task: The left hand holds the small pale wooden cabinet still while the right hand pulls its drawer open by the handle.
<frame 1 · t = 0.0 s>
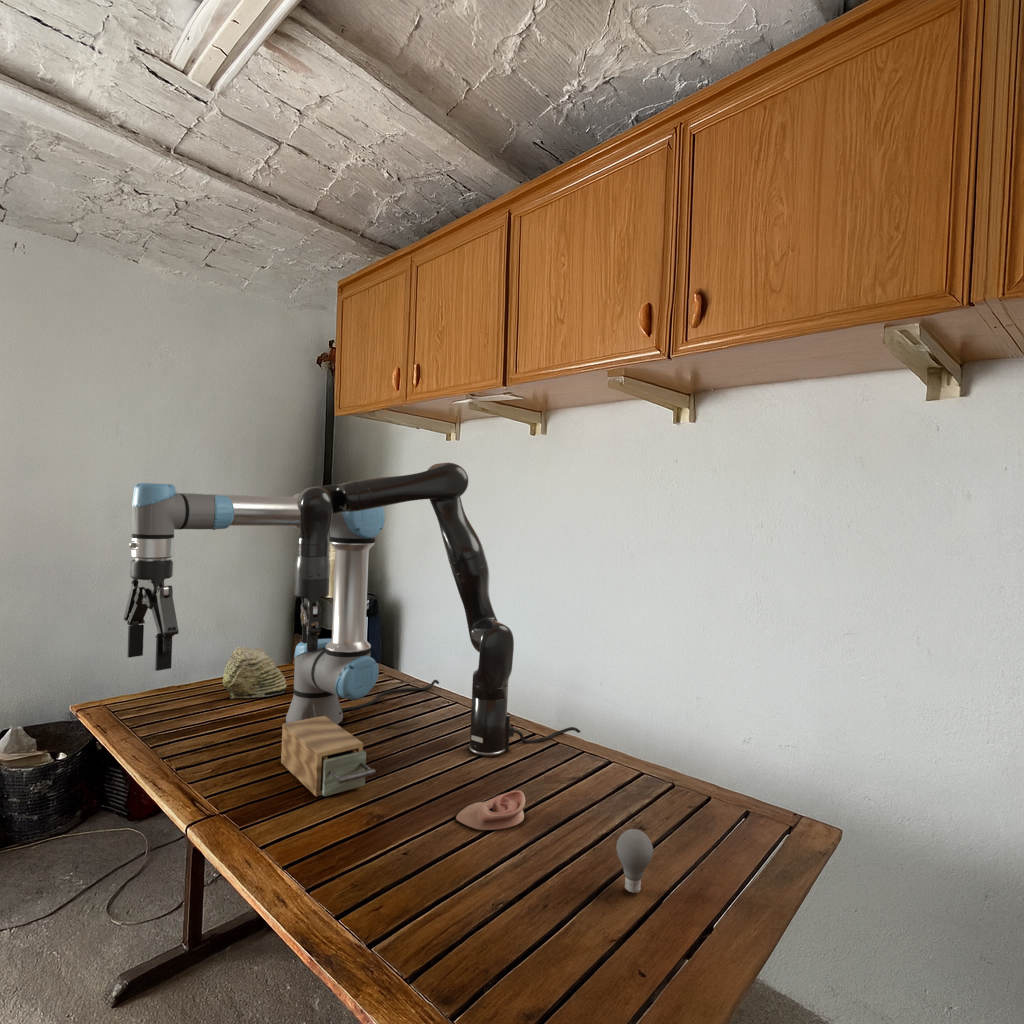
left hand: (148, 662, 129), 28 cm above the table, tool pointing down, fingers open, 13 cm apart
right hand: (309, 647, 143), 29 cm above the table, tool pointing down, fingers open, 8 cm apart
cabinet: (319, 773, 145), on the table
drawer: (332, 762, 140), point 5 cm above the table, slide at 1.7 cm
fossil: (254, 694, 198), on the table
light bulb: (632, 891, 106), on the table
anatomical model: (490, 817, 128), on the table
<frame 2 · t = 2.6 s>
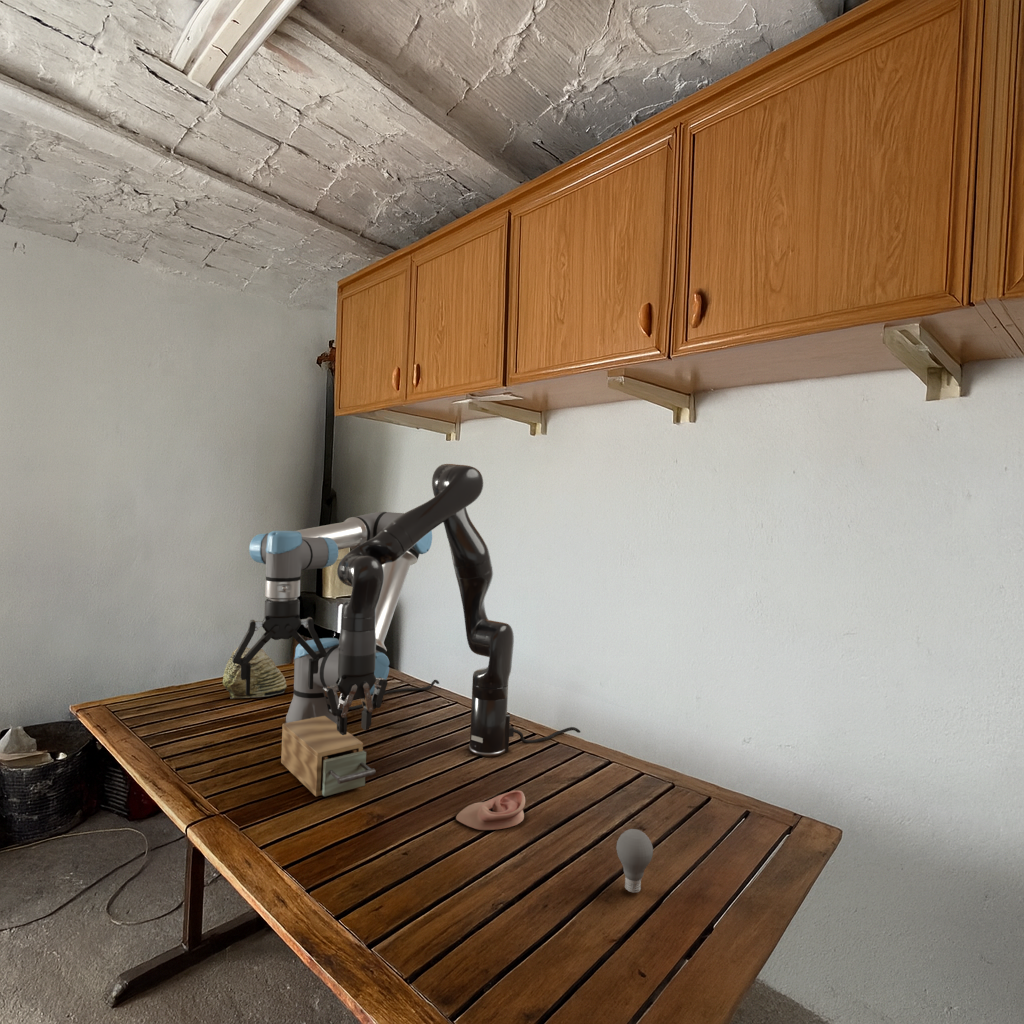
left hand: (279, 690, 145), 18 cm above the table, tool pointing down, fingers open, 13 cm apart
right hand: (354, 730, 132), 15 cm above the table, tool pointing down, fingers open, 4 cm apart
nothing on the table moved.
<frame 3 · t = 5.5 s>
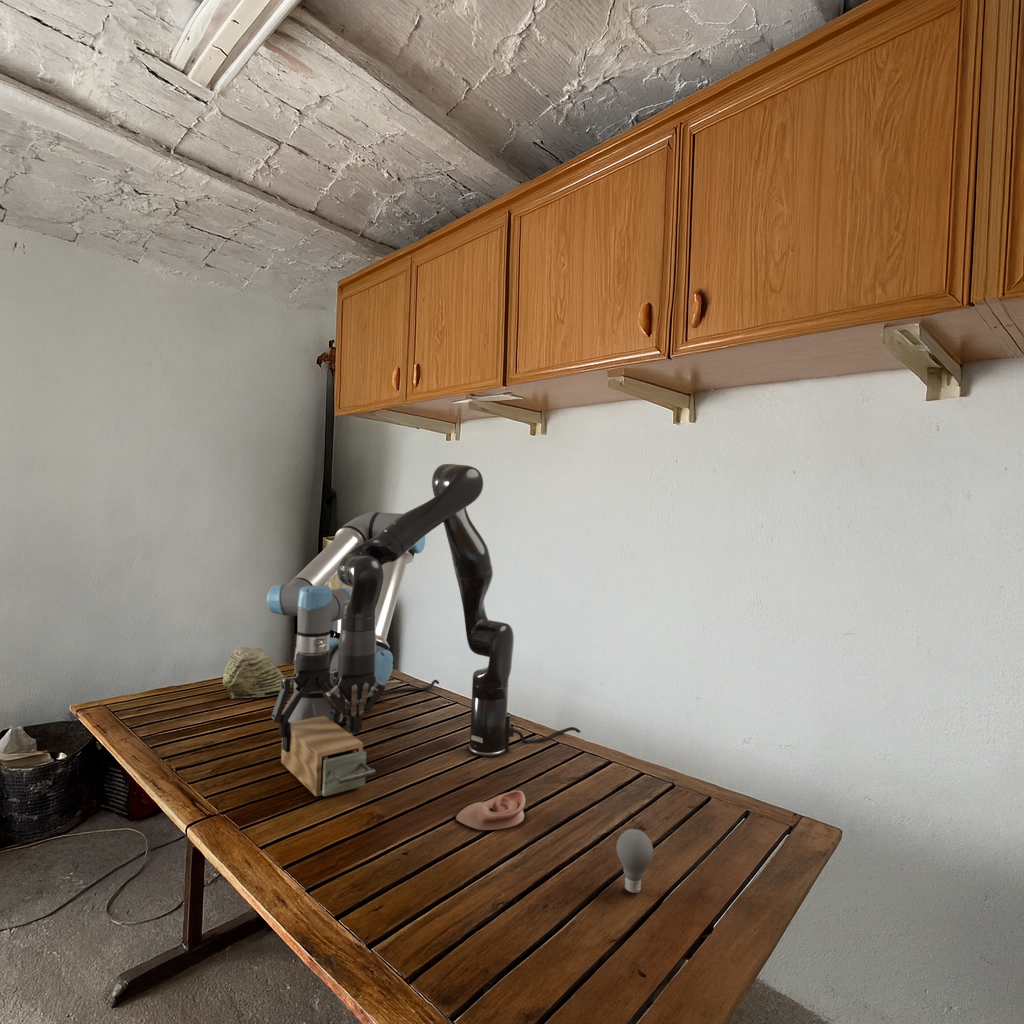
left hand: (309, 744, 150), 4 cm above the table, tool pointing down, fingers closed on cabinet, 10 cm apart
right hand: (354, 732, 132), 15 cm above the table, tool pointing down, fingers closed
cabinet: (319, 773, 145), on the table, touching left hand
everything else where it was.
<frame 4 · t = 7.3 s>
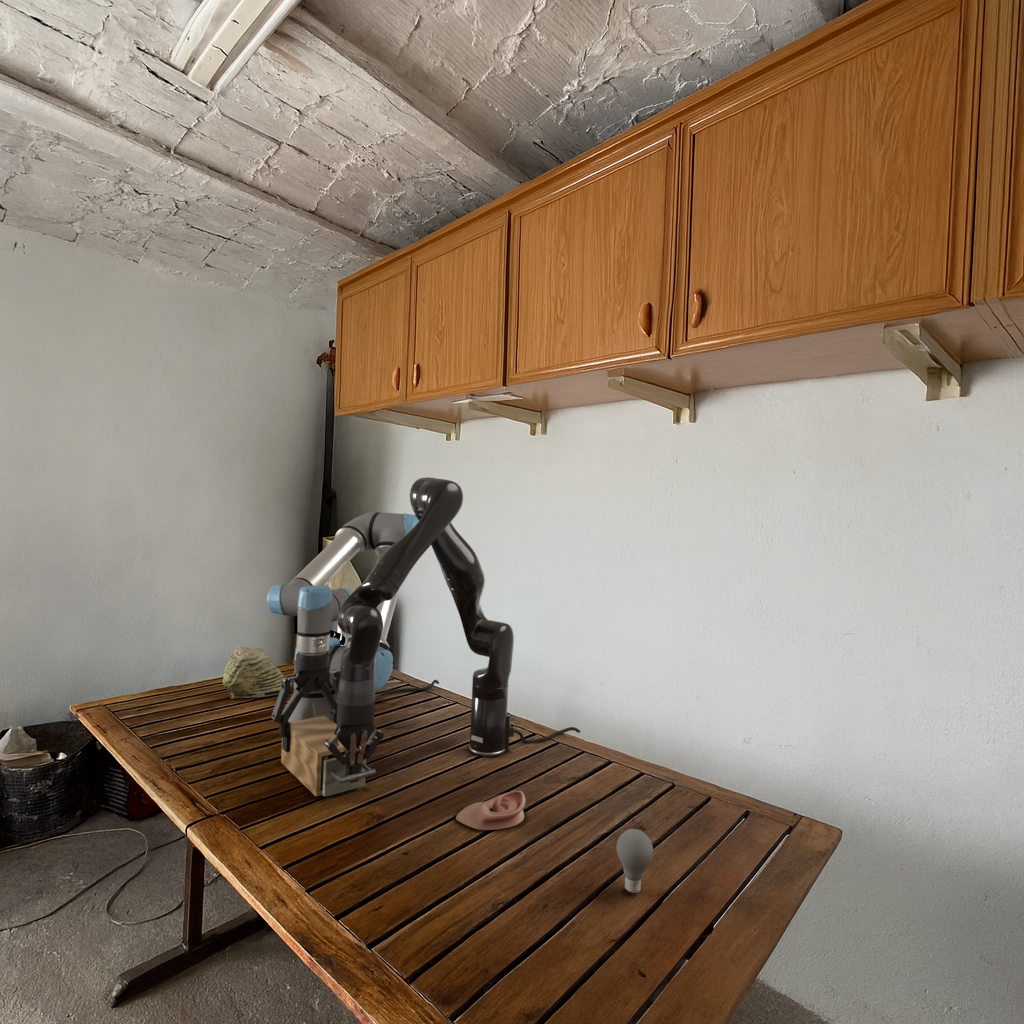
left hand: (309, 744, 150), 4 cm above the table, tool pointing down, fingers closed on cabinet, 10 cm apart
right hand: (352, 780, 132), 5 cm above the table, tool pointing down, fingers closed
cabinet: (319, 773, 145), on the table, touching left hand
drawer: (332, 763, 140), point 5 cm above the table, slide at 1.8 cm, touching right hand
everything else where it was.
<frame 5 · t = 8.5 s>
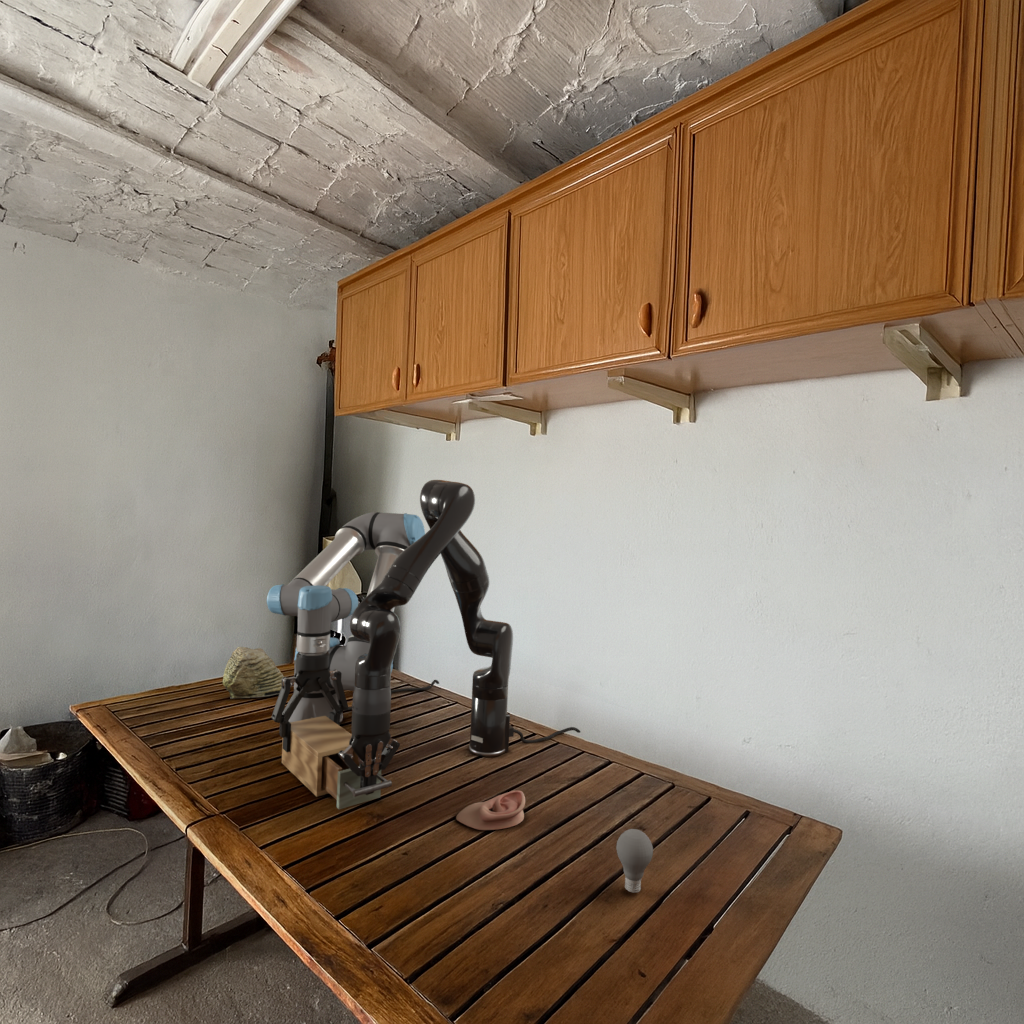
left hand: (309, 744, 150), 4 cm above the table, tool pointing down, fingers closed on cabinet, 10 cm apart
right hand: (368, 792, 127), 5 cm above the table, tool pointing down, fingers closed
cabinet: (320, 773, 145), on the table, touching left hand
drawer: (346, 773, 135), point 5 cm above the table, slide at 8.4 cm, touching right hand
everything else where it was.
when the left hand's fingers open (4 cm above the table, at t = 10.3 s): cabinet stays where it is, on the table.
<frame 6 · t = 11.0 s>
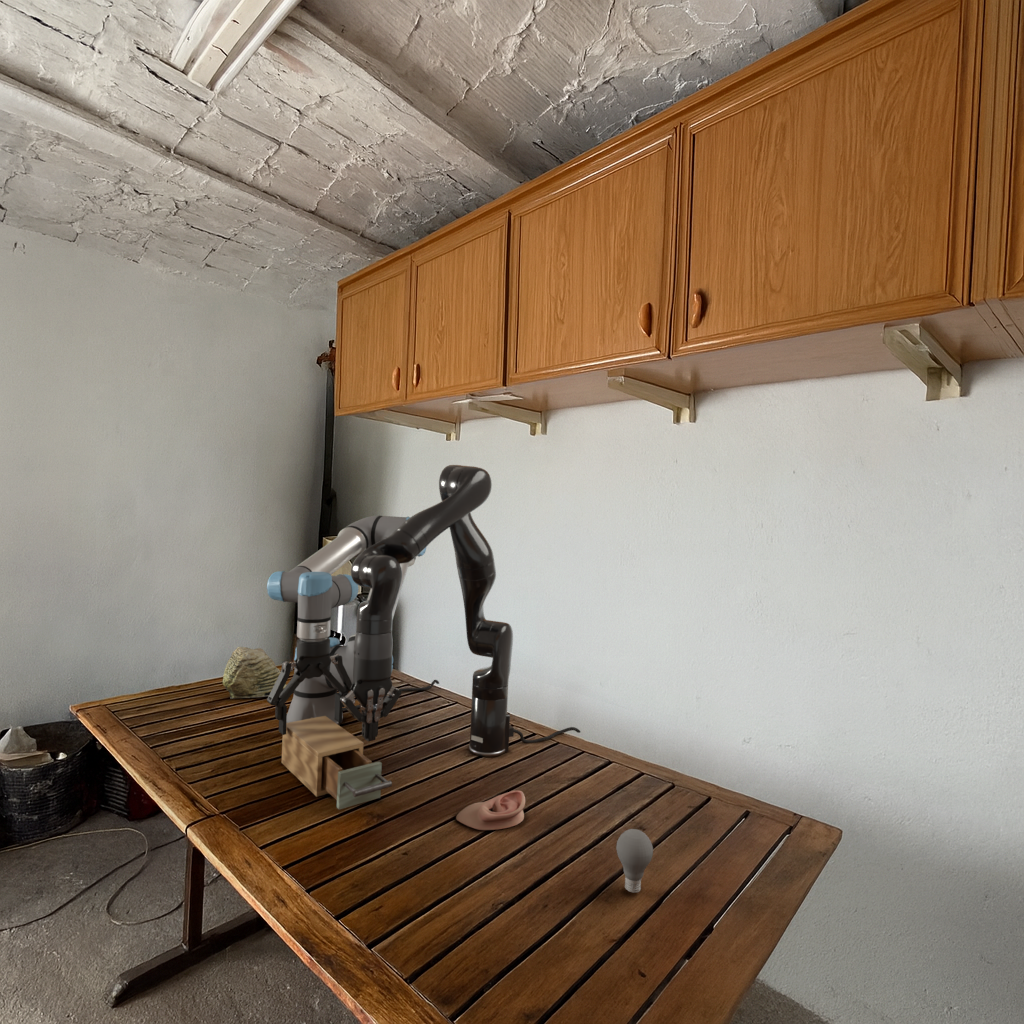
left hand: (311, 726, 150), 9 cm above the table, tool pointing down, fingers open, 13 cm apart
right hand: (369, 739, 127), 15 cm above the table, tool pointing down, fingers closed
cabinet: (320, 773, 145), on the table
drawer: (346, 773, 135), point 5 cm above the table, slide at 8.5 cm
everything else where it was.
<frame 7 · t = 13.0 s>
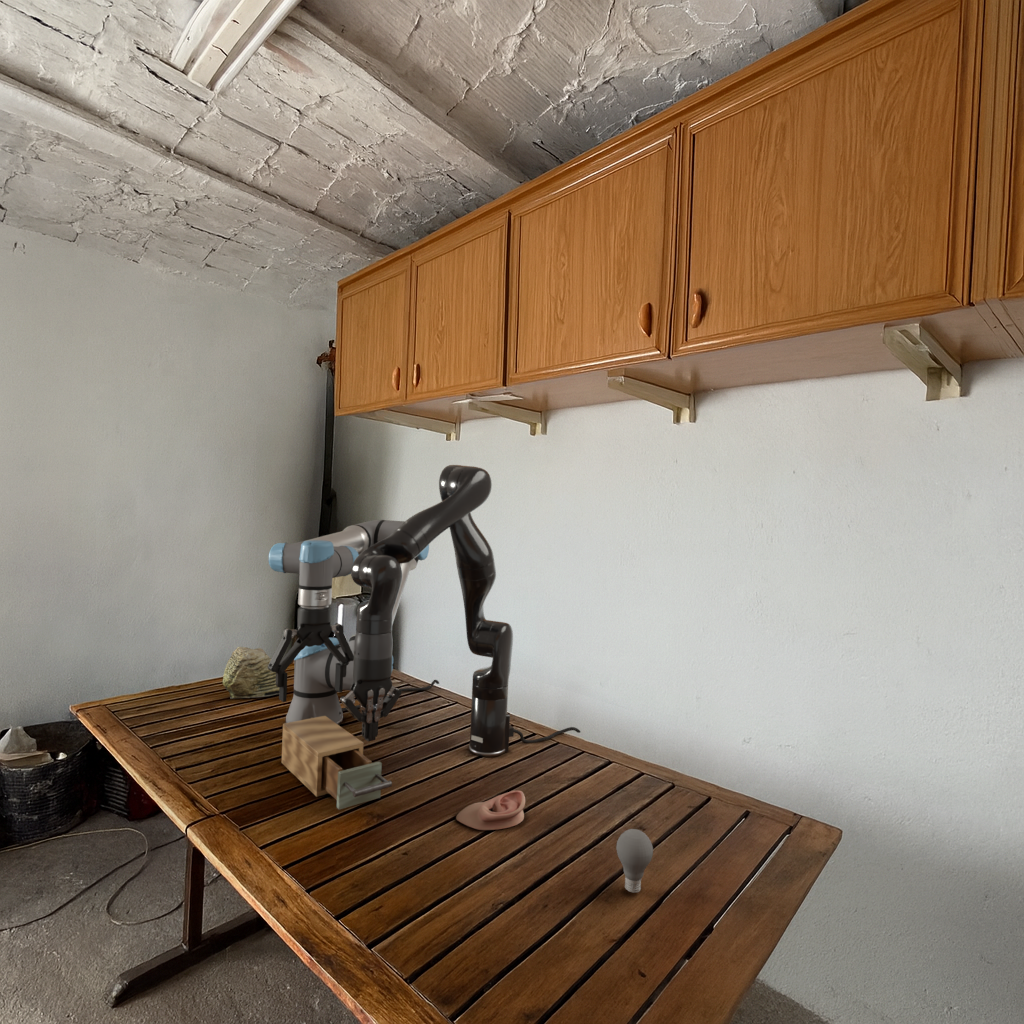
left hand: (311, 695, 150), 16 cm above the table, tool pointing down, fingers open, 13 cm apart
right hand: (369, 739, 127), 15 cm above the table, tool pointing down, fingers closed
nothing on the table moved.
at the end: drawer slide at 8.5 cm; cabinet tilted 0°; cabinet never tilted more than 1° during the clip; cabinet moved 0.1 cm from its start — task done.
